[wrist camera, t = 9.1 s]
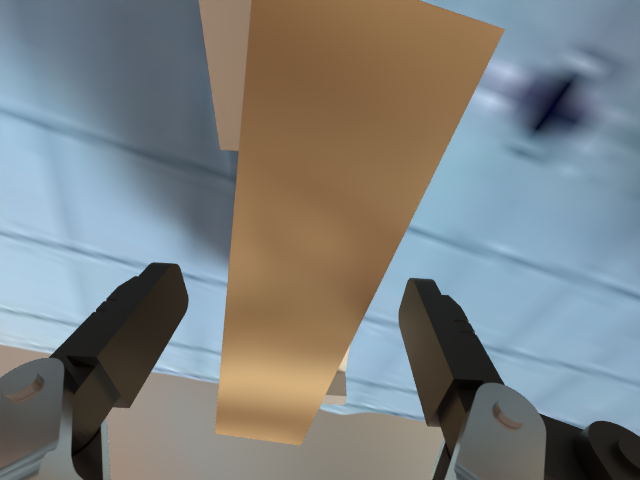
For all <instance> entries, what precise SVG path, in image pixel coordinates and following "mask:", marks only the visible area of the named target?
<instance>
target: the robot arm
mask: <svg viewBox="0 0 640 480" xmlns="http://www.w3.org/2000/svg"><path fill="white" fill-rule="evenodd" d="M187 307H188V294H187V290H186V287H185V283H184V280H183V276H182V273H181V269H180V267H179V265H178V264H173V263H156V262H154V263H151V264H150V265H149V266H148V267H147V268H146V269H145V270H144V271H143V272H142V273H141V274H140V275H139V276H135V277H133V278H131V279H130V280H128V281H126V282H125V283H123V284H122V285H120V286H118V287H117V288H116V289H115V290H114V292H113V293H112V294H111V295H110V296H109V297H108V298H107V300H106V301H104V302H103V303H102V304H101V305H100V306H99V307H98V308H97V309H96V312H93V313H92V314H91V315H90V316H89V317H88V318H87V319H86V320H85V321H84V322H83V323H82V324H81V325H80V326H79V327H78V328H77V329H76V331H75V332H74V333H73V334H72V335H71V336H70V337H69V338H68V339H67V340H66V341H65V342H64V343H63V344H62V345H61V346H60V347H59V348H58V349H57V350H56V351H55V352H54V353H53V354H52V355H51V356H50V357H49V358H41V359H37V360H34V361H30V362H28V363H25V364H23V365H20V366H18V367H17V368H14V369H13V370H11V371H9V372H8V373H6V374H5V375H3V376H2V377H1V378H0V480H111V478H110V459H109V443H108V425H107V421H106V419H105V418H106V416H107V415H108V413H109V412H110V410H111V409H112V407H118V408H130V406H131V405H132V403H133V401H134V399H135V398H136V396H137V394H138V393H139V391H140V389H141V388H142V386H143V384H144V383H145V381H146V379H147V377H148V376H149V374H150V372H151V371H152V369H153V367H154V366H155V364H156V362H157V361H158V359H159V357H160V355H161V354H162V352H163V350H164V349H165V347H166V345H167V344H168V342H169V340H170V339H171V337H172V335H173V333H174V332H175V330H176V328H177V327H178V325H179V323H180V322H181V320H182V318H183V317H184V315H185V313H186V311H187ZM399 326H400V330H401V334H402V337H403V341H404V344H405V348H406V352H407V355H408V359H409V362H410V366H411V370H412V373H413V377H414V380H415V384H416V388H417V391H418V395H419V399H420V402H421V406H422V409H423V413H424V417H425V420H426V424H427V426H433V427H441V429H442V432H443V435H444V441H443V443H442V445H441V448H440V451H439V454H438V456H437V459H436V462H435V465H434V468H433V471H432V473H431V476H430V480H640V437H639V436H638V435H636V434H635V433H633V432H631V431H630V430H628V429H626V428H624V427H622V426H620V425H617V424H614V423H611V422H607V421H596V422H594V423H592V424H591V425H589V426H588V427H587V428H586V429H584V430H583V429H580V428H577V427H575V426H572V425H569V424H566V423H564V422H561V421H558V420H555V419H553V418H550V417H547V416H545V415H542V414H540V413H538V411H537V410H536V409H535V407H534V406H533V405H532V404H531V403H530V402H529V401H528V400H527V399H526V398H525V397H524V396H522V395H521V394H520V393H518V392H517V391H515V390H514V389H512V388H510V387H508V386H505V384H504V383H503V381H502V380H501V378H500V376H499V374H498V372H497V371H496V369H495V367H494V365H493V363H492V362H491V360H490V358H489V356H488V355H487V353H486V351H485V349H484V347H483V346H482V344H481V342H480V340H479V338H478V337H477V335H475V331H474V330H473V328H472V326H471V324H470V323H468V319H467V317H466V315H465V313H464V312H463V310H462V308H461V307H460V306H459V305H458V304H457V303H456V302H455V301H454V300H453V299H452V298H451V297H450V296H449V295H441V293H440V291H439V289H438V287H437V285H436V283H435V281H434V280H432V279H419V278H410V279H409V280H408V282H407V285H406V288H405V292H404V295H403V298H402V302H401V305H400V309H399Z"/></svg>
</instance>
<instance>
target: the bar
mask: <svg viewBox="0 0 640 480" xmlns="http://www.w3.org/2000/svg"><path fill="white" fill-rule="evenodd" d="M504 30H505V29H502V28H499V27H497V26H494V25H491V24H488V23H485V22H482V21H479V20H476V19H473V18H470V17H467V16H464V15H461V14H458V13H455V12H452V11H449V10H446V9H443V8H440V7H437V6H434V5H431V4H429V3H426V2H423V1H420V0H251V12H250V24H249V36H248V48H247V59H246V71H245V83H244V95H243V107H242V119H241V130H240V142H239V154H238V166H237V178H236V190H235V201H234V213H233V225H232V237H231V249H230V261H229V273H228V284H227V296H226V308H225V320H224V332H223V344H222V355H221V367H220V379H219V392H218V404H217V415H216V427H215V433H216V434H224V435H230V436H238V437H245V438H252V439H259V440H266V441H274V442H280V443H288V444H295V445H301V444H302V441H303V439H304V437H305V435H306V433H307V431H308V429H309V427H310V425H311V423H312V421H313V419H314V417H315V415H316V413H317V411H318V409H319V407H320V405H321V403H322V401H323V399H324V397H325V395H326V393H327V391H328V389H329V386H330V384H331V382H332V380H333V378H334V376H335V374H336V372H337V370H338V368H339V366H340V364H341V362H342V360H343V358H344V356H345V354H346V352H347V350H348V348H349V346H350V344H351V342H352V340H353V338H354V336H355V334H356V331H357V329H358V327H359V325H360V323H361V321H362V319H363V317H364V315H365V313H366V311H367V309H368V307H369V305H370V303H371V301H372V299H373V297H374V295H375V293H376V291H377V289H378V287H379V285H380V283H381V281H382V279H383V276H384V274H385V272H386V270H387V268H388V266H389V264H390V262H391V260H392V258H393V256H394V254H395V252H396V250H397V248H398V246H399V244H400V242H401V240H402V238H403V236H404V234H405V232H406V230H407V228H408V226H409V224H410V221H411V219H412V217H413V215H414V213H415V211H416V209H417V207H418V205H419V203H420V201H421V199H422V197H423V195H424V193H425V191H426V189H427V187H428V185H429V183H430V181H431V179H432V177H433V175H434V173H435V171H436V169H437V166H438V164H439V162H440V160H441V158H442V156H443V154H444V152H445V150H446V148H447V146H448V144H449V142H450V140H451V138H452V136H453V134H454V132H455V130H456V128H457V126H458V124H459V122H460V120H461V118H462V116H463V114H464V111H465V109H466V107H467V105H468V103H469V101H470V99H471V97H472V95H473V93H474V91H475V89H476V87H477V85H478V83H479V81H480V79H481V77H482V75H483V73H484V71H485V69H486V67H487V65H488V63H489V61H490V59H491V56H492V54H493V52H494V50H495V48H496V46H497V44H498V42H499V40H500V38H501V36H502V34H503V32H504Z"/></svg>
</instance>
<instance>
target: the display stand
mask: <svg viewBox="0 0 640 480" xmlns="http://www.w3.org/2000/svg"><path fill="white" fill-rule="evenodd" d="M198 1H199V7H200V14H201V21H202V28H203V35H204V42H205V49H206V56H207V63H208V70H209V77H210V84H211V91H212V98H213V105H214V112H215V119H216V126H217V133H218V140H219V147H220V150H231V151H239V142H240V130H241V119H242V107H243V95H244V83H245V71H246V59H247V48H248V36H249V24H250V12H251V0H198ZM349 348H350V346H349ZM349 348H348V350H347V352H346V354H345V356H344V358H343V360H342V362H341V364H340V366H339V368H338V370H337V372H336V374H335V376H334V378H333V380H332V382H331V384H330V386H329V389H328V391H327V393H326V395H325V397H324V399H323V401H322V403H321V404H337V405H345V401H346V378H345V370H346V365H347V359H348V353H349Z"/></svg>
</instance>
